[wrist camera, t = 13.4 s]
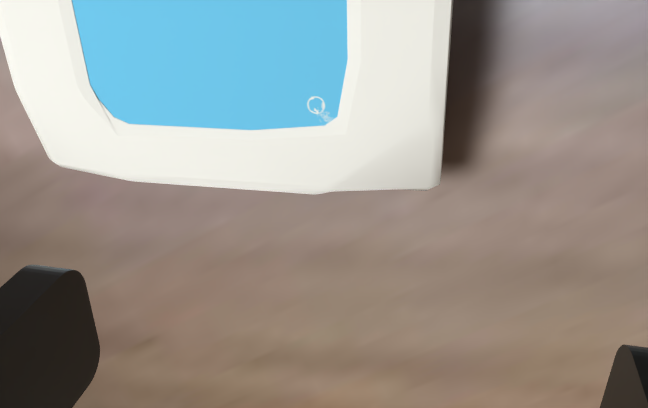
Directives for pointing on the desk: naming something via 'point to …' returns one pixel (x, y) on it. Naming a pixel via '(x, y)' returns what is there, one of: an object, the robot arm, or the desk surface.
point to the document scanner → (237, 90)
